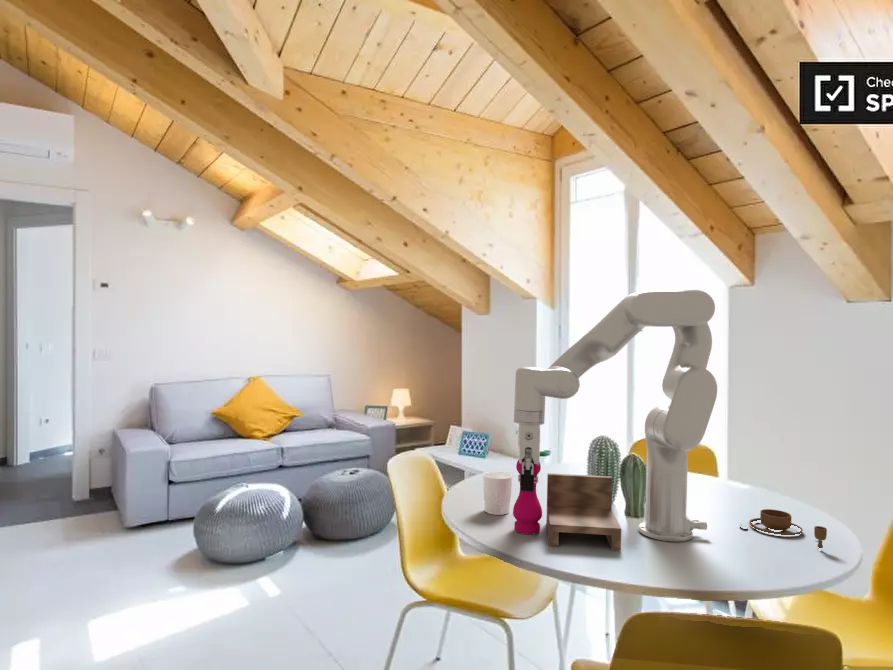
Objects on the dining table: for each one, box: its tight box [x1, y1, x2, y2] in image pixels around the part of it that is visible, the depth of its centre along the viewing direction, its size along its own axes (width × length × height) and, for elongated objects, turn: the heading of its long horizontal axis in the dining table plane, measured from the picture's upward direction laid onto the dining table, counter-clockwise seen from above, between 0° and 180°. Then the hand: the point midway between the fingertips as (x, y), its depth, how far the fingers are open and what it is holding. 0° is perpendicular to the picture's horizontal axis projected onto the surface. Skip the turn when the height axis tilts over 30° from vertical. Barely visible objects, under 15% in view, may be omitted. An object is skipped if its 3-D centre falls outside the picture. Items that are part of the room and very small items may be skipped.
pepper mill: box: [512, 452, 543, 535], centre depth 147 cm, size 7×7×20 cm
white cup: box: [482, 471, 513, 516], centre depth 162 cm, size 8×8×10 cm
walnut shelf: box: [545, 472, 622, 551], centre depth 144 cm, size 16×16×13 cm
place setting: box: [748, 508, 828, 549], centre depth 148 cm, size 18×20×6 cm
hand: (526, 485), depth 147 cm, fingers open, 9 cm apart
